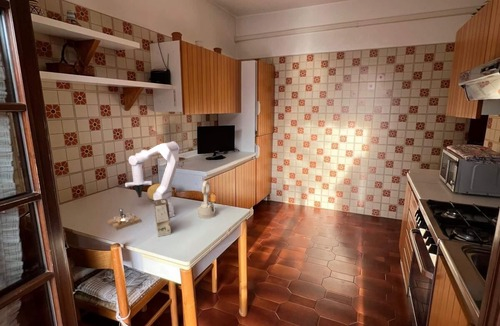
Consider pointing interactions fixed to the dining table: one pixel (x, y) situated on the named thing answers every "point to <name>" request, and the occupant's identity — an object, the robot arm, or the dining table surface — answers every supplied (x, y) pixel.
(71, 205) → the dining table surface
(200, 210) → the engine component
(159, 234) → the coffee box
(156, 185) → the sculpture
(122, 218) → the sprocket
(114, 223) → the index board
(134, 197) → the dining table surface
